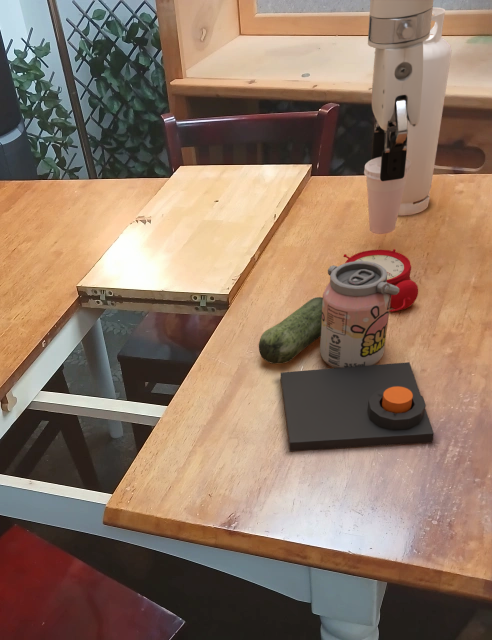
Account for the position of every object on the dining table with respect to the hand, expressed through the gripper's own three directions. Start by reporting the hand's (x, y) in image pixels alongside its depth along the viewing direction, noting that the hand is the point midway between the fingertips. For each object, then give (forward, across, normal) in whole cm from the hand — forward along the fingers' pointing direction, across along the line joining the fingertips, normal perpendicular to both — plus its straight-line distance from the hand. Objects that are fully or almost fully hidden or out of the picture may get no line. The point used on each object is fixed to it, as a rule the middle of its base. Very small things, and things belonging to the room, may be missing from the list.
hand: (387, 168), depth 106 cm
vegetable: (+13, -24, +15) cm, 31 cm away
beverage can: (+13, -27, +8) cm, 31 cm away
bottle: (+13, +15, -6) cm, 21 cm away
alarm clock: (+13, -13, +3) cm, 19 cm away
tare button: (+10, -42, +5) cm, 43 cm away
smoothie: (+9, 0, 0) cm, 9 cm away
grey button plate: (+13, -39, +10) cm, 42 cm away
